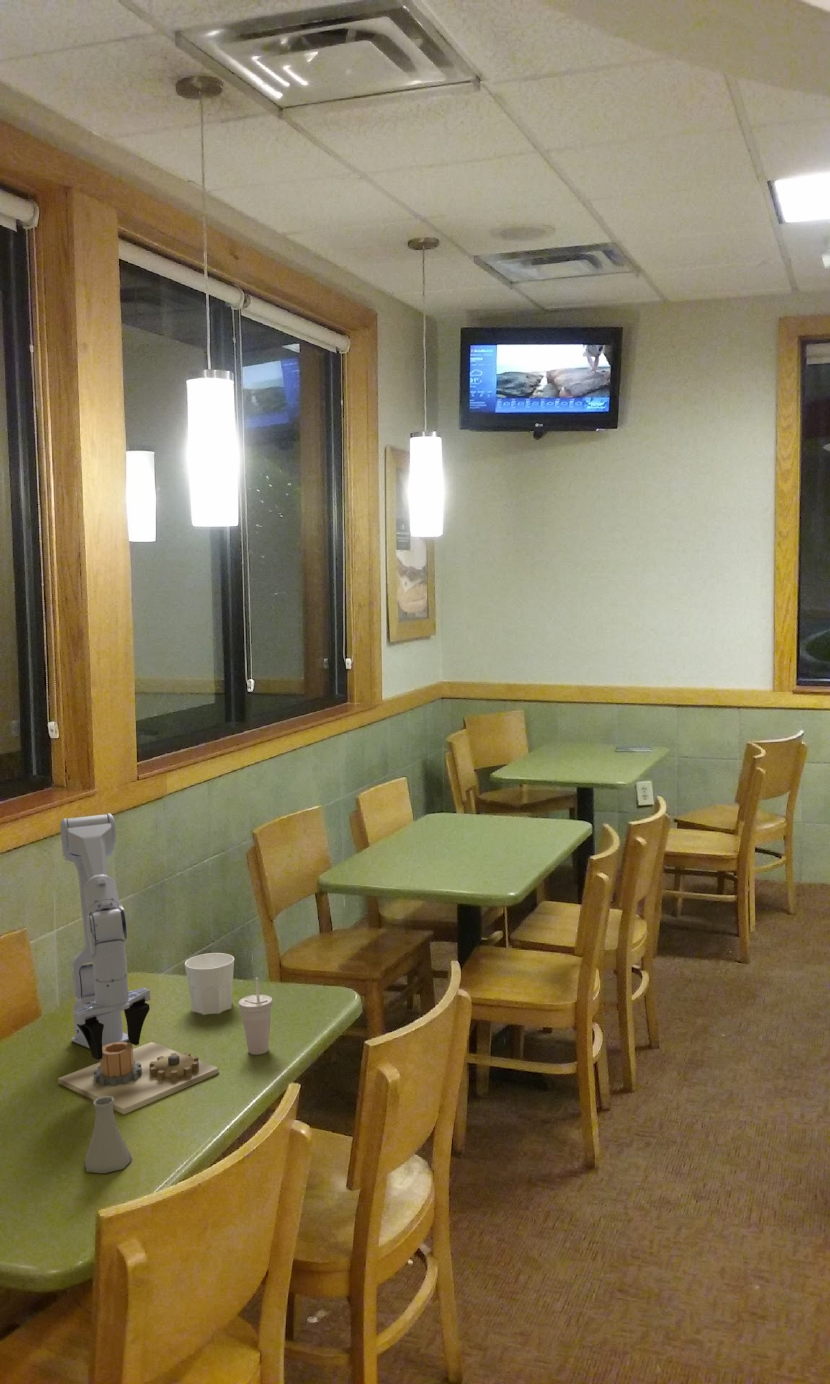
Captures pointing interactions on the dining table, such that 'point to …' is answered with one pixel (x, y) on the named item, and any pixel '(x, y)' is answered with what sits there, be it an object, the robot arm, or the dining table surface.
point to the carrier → (144, 1078)
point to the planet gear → (117, 1065)
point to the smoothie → (256, 1020)
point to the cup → (210, 982)
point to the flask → (106, 1141)
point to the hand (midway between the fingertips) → (115, 1051)
